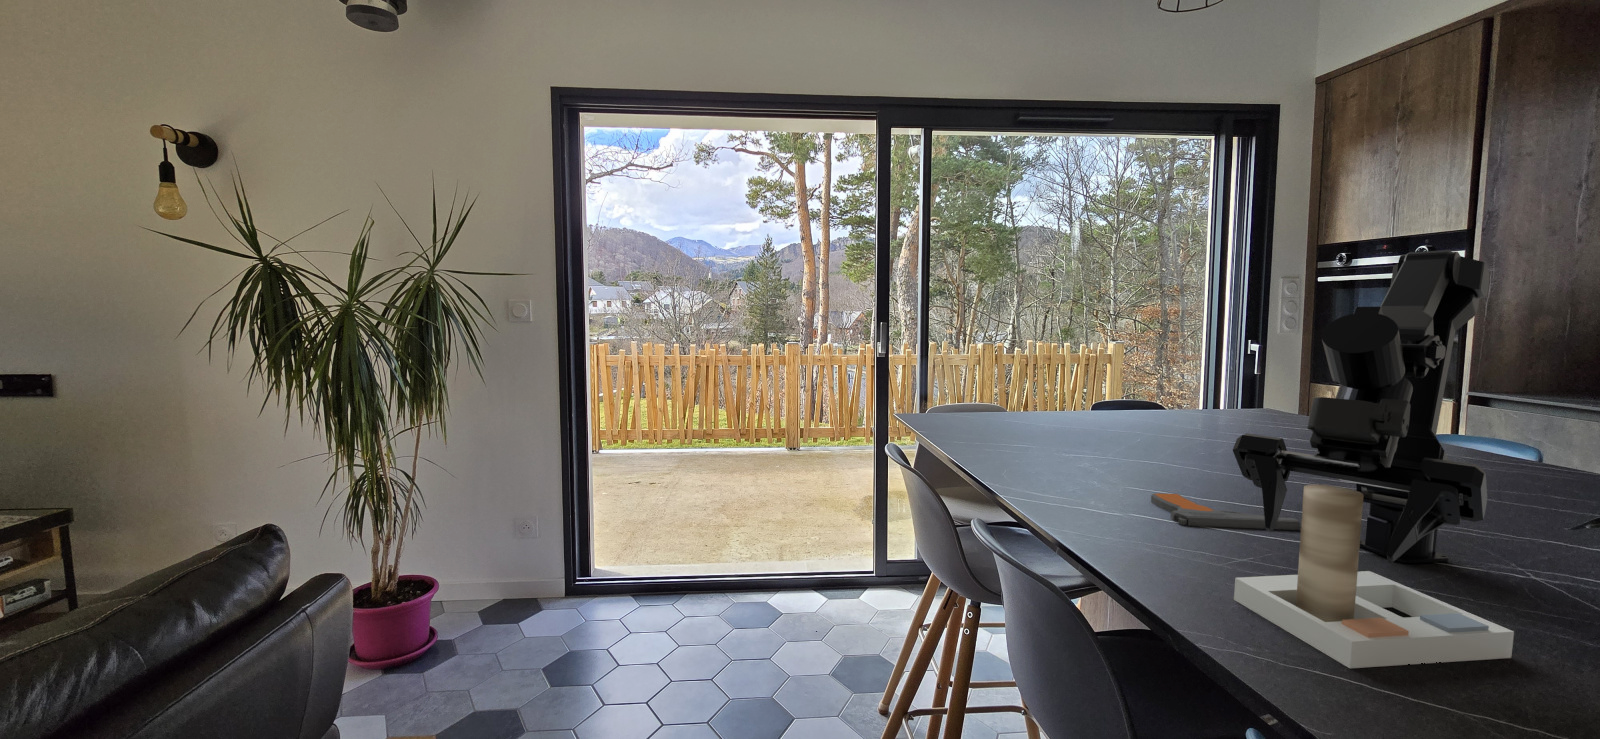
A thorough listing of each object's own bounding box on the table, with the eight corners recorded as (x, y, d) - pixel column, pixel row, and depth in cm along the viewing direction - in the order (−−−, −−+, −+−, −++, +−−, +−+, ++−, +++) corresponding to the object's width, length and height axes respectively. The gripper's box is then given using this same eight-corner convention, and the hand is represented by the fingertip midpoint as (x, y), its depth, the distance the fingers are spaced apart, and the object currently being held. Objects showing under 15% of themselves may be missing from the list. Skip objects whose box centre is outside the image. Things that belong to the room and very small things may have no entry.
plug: (1301, 612, 64) (1310, 481, 63) (1357, 629, 61) (1368, 491, 60) (1288, 626, 62) (1298, 490, 60) (1346, 645, 58) (1357, 500, 57)
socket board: (1367, 592, 69) (1369, 567, 69) (1511, 657, 56) (1514, 627, 56) (1233, 599, 67) (1235, 574, 67) (1349, 668, 55) (1352, 637, 54)
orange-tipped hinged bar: (1252, 507, 100) (1300, 534, 88) (1147, 503, 102) (1180, 528, 90) (1253, 496, 100) (1301, 522, 88) (1147, 492, 102) (1181, 517, 90)
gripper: (1244, 361, 69) (1196, 475, 63) (1495, 375, 54) (1460, 525, 48) (1265, 423, 74) (1223, 532, 69) (1499, 451, 59) (1468, 594, 54)
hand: (1325, 543), depth 60 cm, fingers open, 9 cm apart
